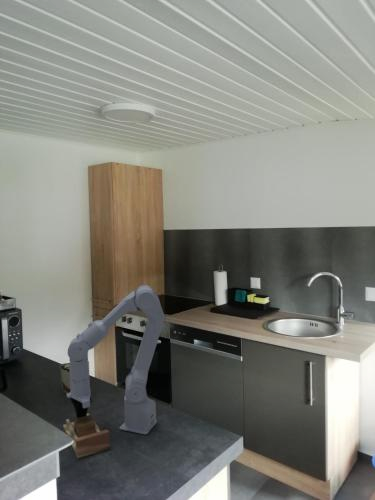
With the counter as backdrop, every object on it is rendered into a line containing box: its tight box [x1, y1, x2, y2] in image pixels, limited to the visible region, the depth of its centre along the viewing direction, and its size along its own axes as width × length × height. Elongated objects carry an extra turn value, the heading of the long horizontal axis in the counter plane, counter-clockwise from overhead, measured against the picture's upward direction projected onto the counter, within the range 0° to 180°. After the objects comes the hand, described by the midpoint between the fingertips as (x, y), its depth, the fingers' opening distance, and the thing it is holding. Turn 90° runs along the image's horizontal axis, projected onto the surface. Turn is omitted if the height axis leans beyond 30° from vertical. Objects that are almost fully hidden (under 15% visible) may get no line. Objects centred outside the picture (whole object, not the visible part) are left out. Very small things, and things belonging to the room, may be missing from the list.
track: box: [62, 413, 111, 460], centre depth 113 cm, size 18×9×5 cm, turn 30°
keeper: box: [73, 414, 96, 438], centre depth 114 cm, size 5×5×4 cm
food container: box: [59, 362, 71, 394], centre depth 144 cm, size 12×6×10 cm, turn 47°
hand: (81, 420), depth 117 cm, fingers closed
